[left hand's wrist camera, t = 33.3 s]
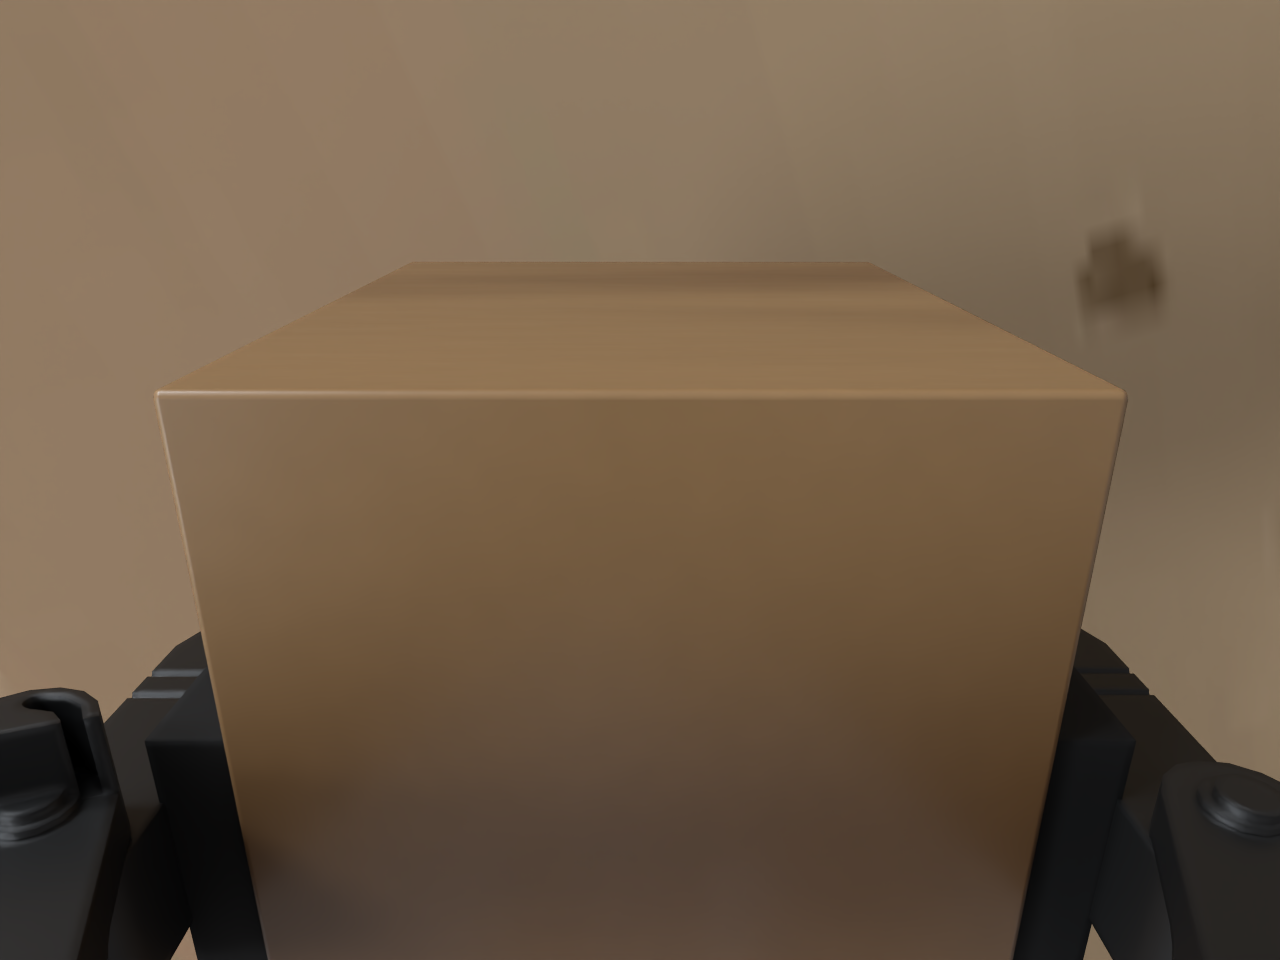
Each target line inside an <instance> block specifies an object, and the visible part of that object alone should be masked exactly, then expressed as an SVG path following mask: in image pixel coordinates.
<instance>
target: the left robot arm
mask: <svg viewBox="0 0 1280 960" xmlns="http://www.w3.org/2000/svg"><path fill="white" fill-rule="evenodd" d="M1091 925H1093V926H1094V928H1095V930H1096V932H1097V933H1098V935H1099V937H1100V938H1101V940H1102V942H1103V944H1104V945H1105V947H1106V949H1107V950H1108V952H1109V954H1110V956H1111V957H1112V959H1113V960H1280V782H1279V781H1277V780H1275V779H1273V778H1271V777H1269V776H1267V775H1265V774H1263V773H1260V772H1257V771H1253V770H1250V769H1247V768H1243V767H1240V766H1236V765H1233V764H1230V763H1221V762H1216V761H1215V760H1214V759H1213V758H1212V756H1211V755H1210V754H1209V753H1208V752H1207V751H1206V750H1205V749H1204V748H1203V747H1202V746H1201V745H1200V744H1199V743H1198V742H1197V740H1196V739H1195V738H1194V737H1193V736H1192V735H1191V734H1190V733H1189V732H1188V731H1187V730H1186V729H1185V728H1184V727H1183V726H1182V724H1181V723H1180V722H1179V721H1178V720H1177V719H1176V718H1175V717H1174V716H1173V715H1172V714H1171V713H1170V712H1169V711H1168V710H1167V708H1166V707H1165V706H1164V705H1163V704H1162V703H1161V702H1160V701H1159V700H1158V699H1157V698H1156V697H1155V696H1154V695H1149V689H1148V688H1147V687H1146V686H1145V685H1144V684H1143V683H1142V682H1141V681H1140V680H1139V679H1138V677H1137V676H1136V675H1135V674H1130V673H1129V668H1128V667H1127V666H1126V665H1125V664H1124V663H1123V661H1122V660H1121V659H1120V658H1119V657H1118V656H1117V655H1116V654H1115V653H1114V652H1113V651H1112V650H1111V649H1110V648H1109V647H1108V645H1107V644H1106V643H1104V642H1102V641H1101V640H1099V639H1097V638H1096V637H1094V636H1092V635H1091V634H1089V633H1087V632H1086V631H1084V630H1082V629H1081V631H1080V635H1079V640H1078V645H1077V650H1076V655H1075V660H1074V665H1073V669H1072V674H1071V679H1070V684H1069V689H1068V694H1067V699H1066V703H1065V708H1064V713H1063V718H1062V723H1061V728H1060V733H1059V738H1058V742H1057V747H1056V752H1055V757H1054V762H1053V767H1052V772H1051V776H1050V781H1049V786H1048V791H1047V796H1046V801H1045V806H1044V811H1043V815H1042V820H1041V825H1040V830H1039V835H1038V840H1037V845H1036V849H1035V854H1034V859H1033V864H1032V869H1031V874H1030V879H1029V883H1028V888H1027V893H1026V898H1025V903H1024V908H1023V913H1022V918H1021V922H1020V927H1019V932H1018V937H1017V942H1016V947H1015V952H1014V956H1013V960H1083V957H1084V953H1085V949H1086V945H1087V941H1088V937H1089V933H1090V929H1091ZM189 927H190V930H191V934H192V938H193V943H194V947H195V951H196V955H197V959H198V960H268V958H267V953H266V949H265V944H264V939H263V934H262V929H261V924H260V919H259V914H258V909H257V904H256V900H255V895H254V890H253V885H252V880H251V875H250V870H249V865H248V860H247V855H246V851H245V846H244V841H243V836H242V831H241V826H240V821H239V816H238V811H237V807H236V802H235V797H234V792H233V787H232V782H231V777H230V772H229V767H228V762H227V758H226V753H225V748H224V743H223V738H222V733H221V728H220V723H219V718H218V713H217V709H216V704H215V699H214V694H213V689H212V684H211V679H210V674H209V669H208V664H207V660H206V655H205V650H204V645H203V640H202V635H201V632H199V633H197V634H195V635H194V636H192V637H190V638H189V639H187V640H185V641H184V642H182V643H180V644H179V645H177V646H176V647H175V648H174V649H173V650H172V651H171V652H170V653H169V654H168V655H167V656H166V657H165V658H164V659H163V661H162V662H161V663H160V664H159V665H158V666H157V667H156V668H155V669H154V670H153V671H152V677H147V678H146V679H145V680H144V681H143V682H142V683H141V684H140V685H139V686H138V687H137V688H136V690H135V691H134V692H133V696H132V698H127V699H126V700H125V701H124V702H123V704H122V705H121V706H120V707H119V708H118V709H117V710H116V711H115V712H114V713H113V714H112V715H111V716H110V718H109V719H108V720H107V721H106V722H105V723H103V719H102V716H101V712H100V708H99V704H98V701H97V700H96V699H94V698H93V697H92V696H90V695H89V694H87V693H86V692H84V691H80V690H73V689H67V688H50V689H39V690H29V691H25V692H21V693H17V694H14V695H10V696H6V697H2V698H0V960H171V958H172V956H173V954H174V953H175V951H176V949H177V948H178V946H179V944H180V942H181V941H182V939H183V937H184V935H185V934H186V932H187V930H188V928H189Z"/></svg>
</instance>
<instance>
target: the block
mask: <svg viewBox="0 0 1280 960" xmlns="http://www.w3.org/2000/svg"><path fill="white" fill-rule="evenodd" d="M153 400H154V405H155V410H156V415H157V420H158V424H159V429H160V434H161V439H162V444H163V449H164V454H165V459H166V464H167V469H168V473H169V478H170V483H171V488H172V493H173V498H174V503H175V508H176V513H177V517H178V522H179V527H180V532H181V537H182V542H183V547H184V552H185V557H186V562H187V566H188V571H189V576H190V581H191V586H192V591H193V596H194V601H195V606H196V611H197V615H198V620H199V625H200V630H201V635H202V640H203V645H204V650H205V655H206V660H207V664H208V669H209V674H210V679H211V684H212V689H213V694H214V699H215V704H216V709H217V713H218V718H219V723H220V728H221V733H222V738H223V743H224V748H225V753H226V758H227V762H228V767H229V772H230V777H231V782H232V787H233V792H234V797H235V802H236V807H237V811H238V816H239V821H240V826H241V831H242V836H243V841H244V846H245V851H246V855H247V860H248V865H249V870H250V875H251V880H252V885H253V890H254V895H255V900H256V904H257V909H258V914H259V919H260V924H261V929H262V934H263V939H264V944H265V949H266V953H267V958H268V960H1013V956H1014V952H1015V947H1016V942H1017V937H1018V932H1019V927H1020V922H1021V918H1022V913H1023V908H1024V903H1025V898H1026V893H1027V888H1028V883H1029V879H1030V874H1031V869H1032V864H1033V859H1034V854H1035V849H1036V845H1037V840H1038V835H1039V830H1040V825H1041V820H1042V815H1043V811H1044V806H1045V801H1046V796H1047V791H1048V786H1049V781H1050V776H1051V772H1052V767H1053V762H1054V757H1055V752H1056V747H1057V742H1058V738H1059V733H1060V728H1061V723H1062V718H1063V713H1064V708H1065V703H1066V699H1067V694H1068V689H1069V684H1070V679H1071V674H1072V669H1073V665H1074V660H1075V655H1076V650H1077V645H1078V640H1079V635H1080V631H1081V626H1082V621H1083V616H1084V611H1085V606H1086V601H1087V596H1088V592H1089V587H1090V582H1091V577H1092V572H1093V567H1094V562H1095V558H1096V553H1097V548H1098V543H1099V538H1100V533H1101V528H1102V523H1103V519H1104V514H1105V509H1106V504H1107V499H1108V494H1109V489H1110V485H1111V480H1112V475H1113V470H1114V465H1115V460H1116V455H1117V451H1118V446H1119V441H1120V436H1121V431H1122V426H1123V421H1124V416H1125V412H1126V407H1127V402H1128V397H1127V393H1126V391H1125V390H1123V389H1121V388H1119V387H1117V386H1115V385H1113V384H1111V383H1109V382H1107V381H1105V380H1103V379H1101V378H1099V377H1097V376H1095V375H1093V374H1091V373H1089V372H1087V371H1085V370H1083V369H1081V368H1079V367H1077V366H1075V365H1073V364H1071V363H1069V362H1067V361H1065V360H1063V359H1061V358H1059V357H1057V356H1055V355H1053V354H1051V353H1049V352H1047V351H1045V350H1043V349H1041V348H1039V347H1037V346H1035V345H1033V344H1031V343H1029V342H1027V341H1025V340H1023V339H1021V338H1019V337H1017V336H1015V335H1013V334H1011V333H1009V332H1007V331H1005V330H1003V329H1001V328H999V327H997V326H995V325H993V324H991V323H989V322H987V321H985V320H983V319H981V318H979V317H977V316H975V315H973V314H971V313H969V312H967V311H965V310H963V309H961V308H959V307H957V306H955V305H953V304H951V303H949V302H947V301H945V300H943V299H941V298H939V297H937V296H935V295H933V294H931V293H929V292H927V291H925V290H923V289H921V288H919V287H917V286H915V285H913V284H911V283H909V282H907V281H905V280H903V279H901V278H899V277H897V276H895V275H893V274H891V273H889V272H887V271H885V270H883V269H881V268H879V267H877V266H875V265H873V264H871V263H868V262H412V263H410V264H408V265H406V266H404V267H402V268H400V269H398V270H396V271H394V272H392V273H390V274H388V275H386V276H384V277H382V278H380V279H378V280H376V281H374V282H372V283H370V284H368V285H366V286H364V287H362V288H360V289H358V290H356V291H354V292H352V293H350V294H348V295H346V296H344V297H342V298H340V299H338V300H336V301H334V302H332V303H330V304H328V305H326V306H324V307H322V308H320V309H318V310H316V311H314V312H312V313H310V314H308V315H306V316H304V317H302V318H300V319H298V320H296V321H294V322H292V323H290V324H288V325H286V326H284V327H282V328H280V329H278V330H276V331H274V332H272V333H270V334H268V335H266V336H264V337H262V338H260V339H258V340H256V341H254V342H252V343H250V344H248V345H246V346H244V347H242V348H240V349H238V350H236V351H234V352H232V353H230V354H228V355H226V356H224V357H222V358H220V359H218V360H216V361H214V362H212V363H210V364H208V365H206V366H204V367H202V368H200V369H198V370H196V371H194V372H192V373H190V374H188V375H186V376H184V377H182V378H180V379H178V380H176V381H174V382H172V383H170V384H168V385H166V386H164V387H162V388H160V389H158V390H156V391H155V393H154V399H153Z"/></svg>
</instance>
